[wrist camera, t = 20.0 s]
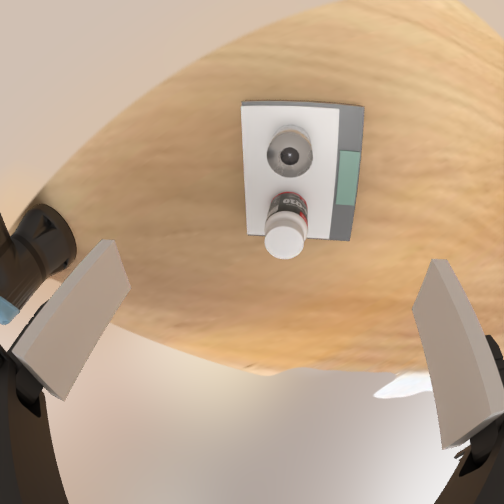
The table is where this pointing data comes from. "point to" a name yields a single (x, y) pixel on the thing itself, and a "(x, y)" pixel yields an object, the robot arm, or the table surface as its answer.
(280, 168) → the cylinder
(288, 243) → the pill bottle
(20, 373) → the robot arm
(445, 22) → the table surface
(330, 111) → the kitchen scale
